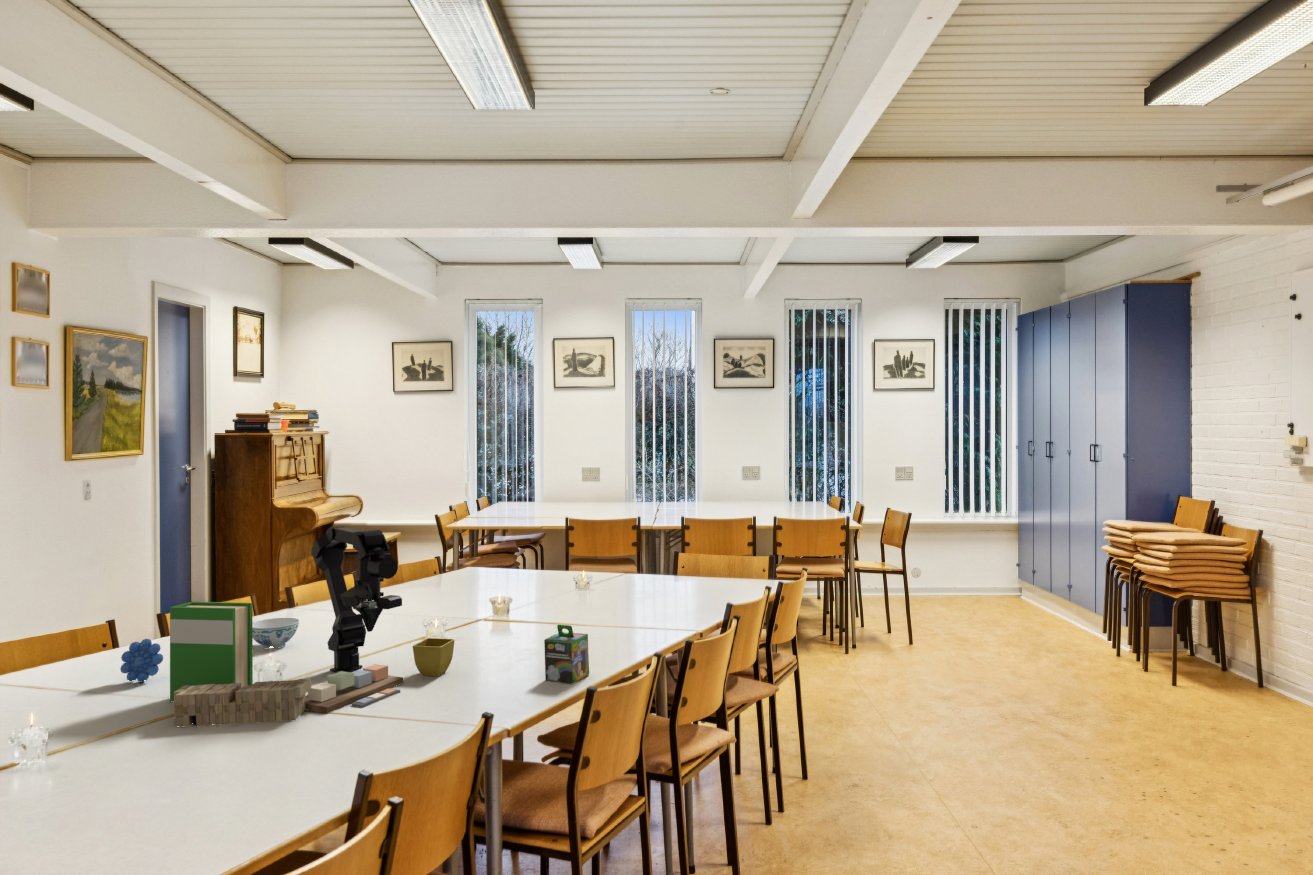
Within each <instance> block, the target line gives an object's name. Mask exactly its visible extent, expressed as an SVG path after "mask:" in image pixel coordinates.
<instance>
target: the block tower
mask: <svg viewBox="0 0 1313 875" xmlns="http://www.w3.org/2000/svg"><path fill="white" fill-rule="evenodd" d="M311 686H312V678H298V679H293V680H275V681H274V680H268V681H267V680H266V681H265V680H264V681H255V682H253V684H252V685H251V686H250V685H247V686H243V687H242V688H241V683H233V684H218V685H216V684H210V685H209V684H207V685H197V686H190V685H187V686H183V687H181V688H179V689H178V690H177V691H175V692H174V702H173V705H174V706H173V708H174V709H173V710H174V724H175V723H176V724H175V727H176V726H187V727H190V725H191V724H192V723H193V724H195V725H207V726H213V725H212V724H216V725H215V726H220V724H222V725H243V724H256V723H258V724H260V723H273V722H274V723H275V722H276V721H277V722H289V720H290V722H291V721H292V720H294V721H296V720H297V719H298V718H299V717H300V716H301V715H302V714H303V713H304V712H305V711H307V710H306V698H305V696H306V693H308V691H309V690H310V689H311ZM195 721H196V722H195ZM193 724H192V725H193ZM192 725H191V726H192Z"/></svg>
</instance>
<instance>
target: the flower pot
mask: <svg viewBox="0 0 1313 875" xmlns="http://www.w3.org/2000/svg"><path fill="white" fill-rule="evenodd" d="M454 648H455V639H454V638H440V637H439V638H437V637H436V638H435V637H427V638H424V639H423V640H420V641H419V642H417V643H415V644H413V645H412V652H413V659H414V664H415V667H416V668H417V670H418V672H419V673H420V675H421V676H428V677H440V676H441V675H443V674H444V673H446V672H447V670H448V669H449V667H450V664H451V662H452V660H453V655H454Z"/></svg>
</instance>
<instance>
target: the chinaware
mask: <svg viewBox="0 0 1313 875" xmlns="http://www.w3.org/2000/svg"><path fill="white" fill-rule="evenodd" d="M299 625H300V619H298V618H295V617H276V618H275V617H274V618H273V617H272V618H266V619H260V620H257V621H252V635H253V641H255V642H256V643H257V644H259V645H260V646H261V647H264V648H269V647H270V646H273V647H274V648H275V649H279V648H278V647H281V648H283V647H282V646H284V647H285V646H286V643H288V642H289V641H291V639H293V637H294V636H295V634H297V633H296V632H297V630H298V627H299ZM264 648H263V649H264Z"/></svg>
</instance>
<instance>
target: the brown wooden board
mask: <svg viewBox="0 0 1313 875" xmlns="http://www.w3.org/2000/svg"><path fill="white" fill-rule="evenodd" d="M401 683H402V684H404V677H401V676H397V675H395V676H394V675H389V674H388V677H387V678H384V679H381V680H379V681H372V683H371V684H368V685H365V686H363V687H360V688H356V687H347V688H344V689H342V690H339V689H336V697H333V698H331V699H328V700H325V701H323V702H319V701H313V700H308V694H307V695H305V698H306V710H305V711H312V712H317V713H323V714H328V713H331V712H334V710H335V711H336V710H339V709H342V708H344V706H345V707H347V706H349V705H352V703H354V702H356V701H358V700H360V699H363V698H366V697H368V696H371V695H373V694H376V693H379V692H381V691H383V690H386V689H389V688H391V689H393V688H395V687H397V686H399V684H400V685H402V684H401ZM396 685H397V686H396ZM394 686H395V687H394Z"/></svg>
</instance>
